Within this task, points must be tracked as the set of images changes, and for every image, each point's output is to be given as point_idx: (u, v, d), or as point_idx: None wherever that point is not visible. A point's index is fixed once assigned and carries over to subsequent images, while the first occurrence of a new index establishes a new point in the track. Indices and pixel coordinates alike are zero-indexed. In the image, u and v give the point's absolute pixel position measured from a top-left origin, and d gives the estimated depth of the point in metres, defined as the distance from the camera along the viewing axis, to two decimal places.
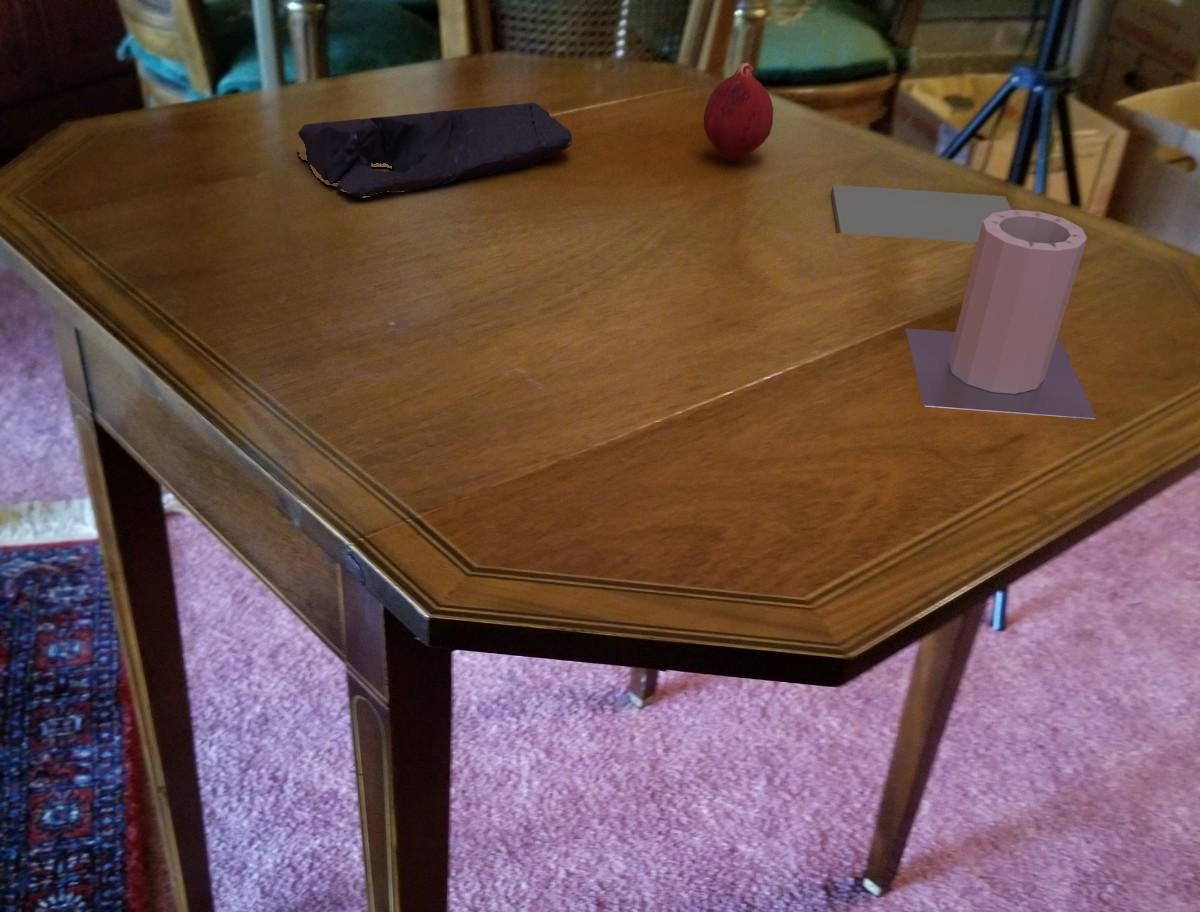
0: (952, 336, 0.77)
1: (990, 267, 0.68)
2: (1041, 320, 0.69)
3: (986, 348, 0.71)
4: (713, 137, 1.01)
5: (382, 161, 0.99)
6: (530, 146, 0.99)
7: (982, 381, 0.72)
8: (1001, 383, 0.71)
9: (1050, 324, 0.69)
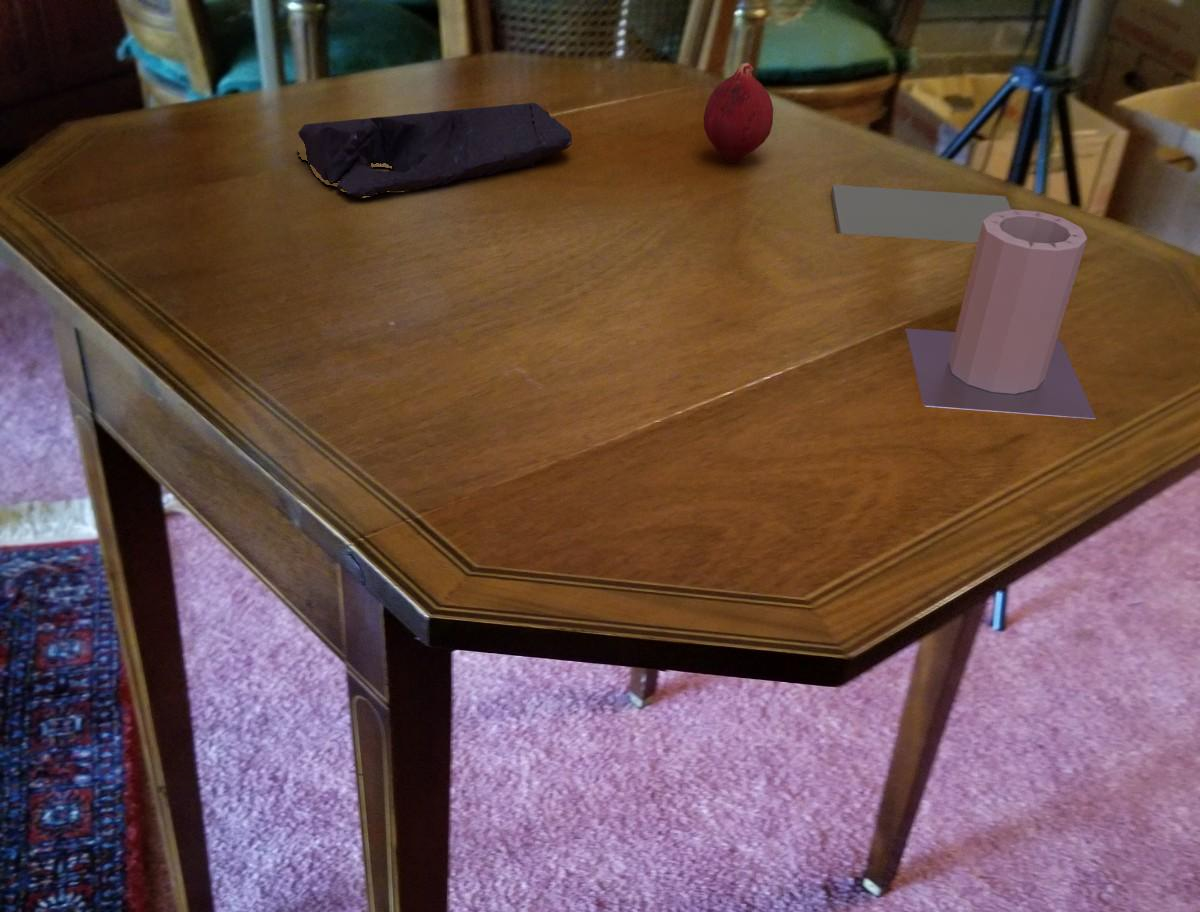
0: (952, 336, 0.77)
1: (990, 267, 0.68)
2: (1041, 320, 0.69)
3: (986, 348, 0.71)
4: (713, 137, 1.01)
5: (382, 161, 0.99)
6: (530, 146, 0.99)
7: (982, 381, 0.72)
8: (1001, 383, 0.71)
9: (1050, 324, 0.69)
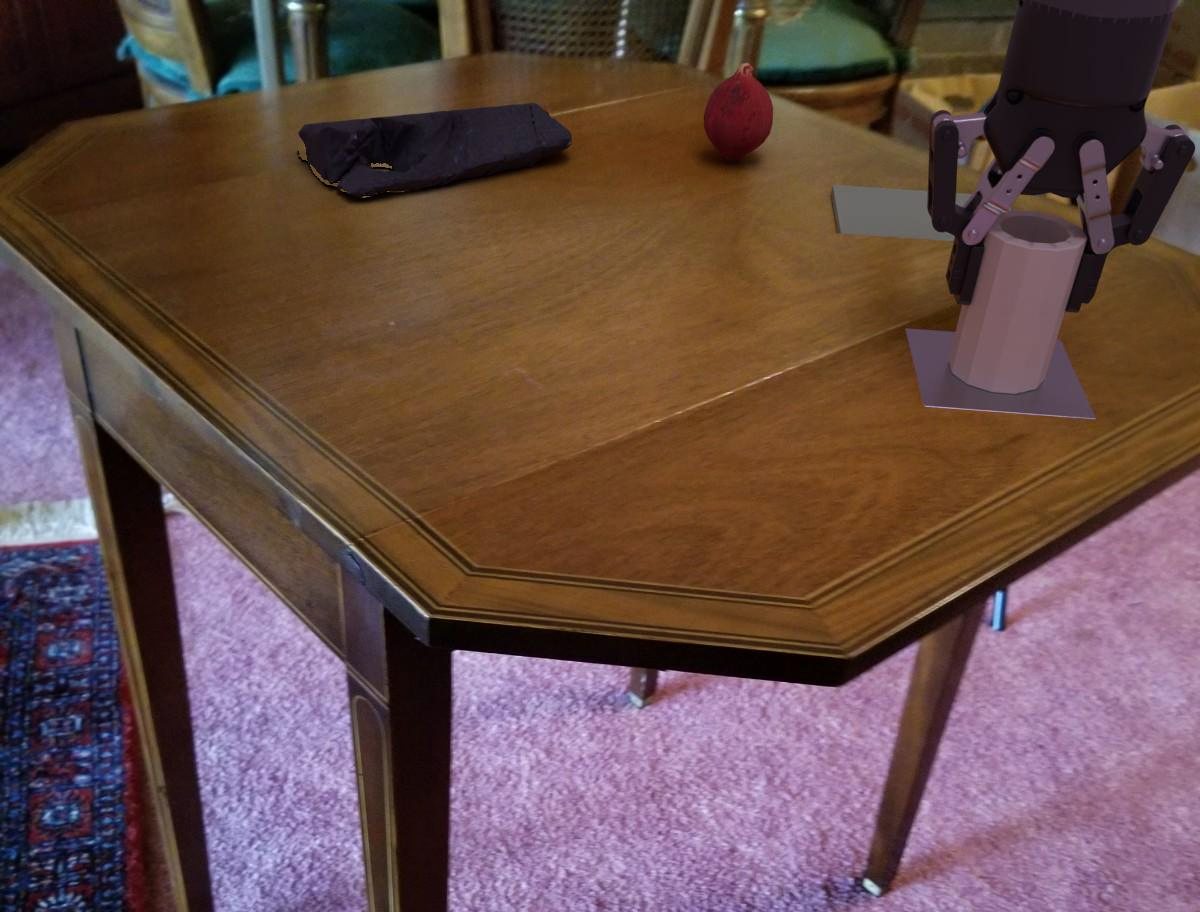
0: (952, 336, 0.77)
1: (990, 267, 0.68)
2: (1041, 320, 0.69)
3: (986, 348, 0.71)
4: (713, 137, 1.01)
5: (382, 161, 0.99)
6: (530, 147, 0.99)
7: (982, 381, 0.72)
8: (1001, 383, 0.71)
9: (1050, 324, 0.69)
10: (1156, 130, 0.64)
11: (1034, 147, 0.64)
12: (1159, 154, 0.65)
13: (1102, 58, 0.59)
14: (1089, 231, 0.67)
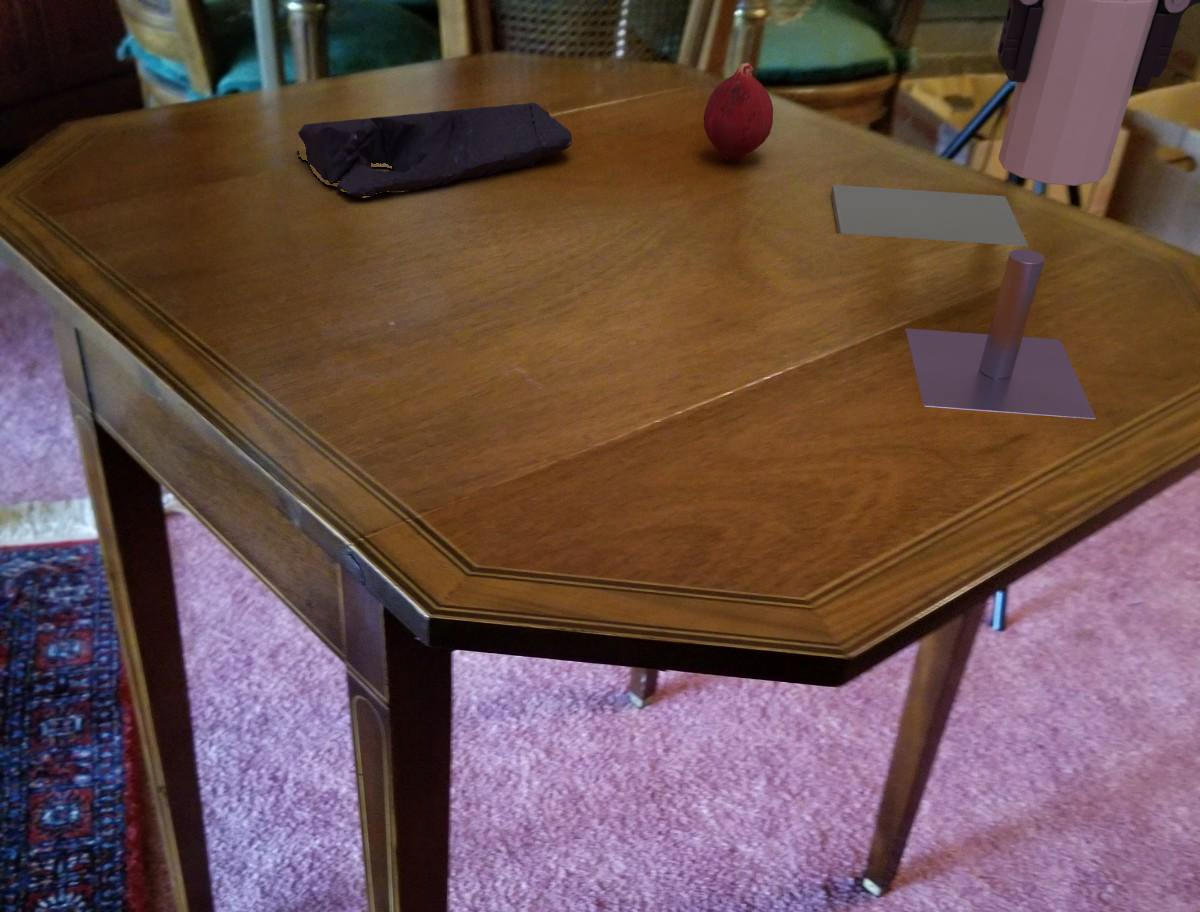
0: (952, 336, 0.77)
1: (1050, 31, 0.61)
2: (1107, 93, 0.61)
3: (1044, 130, 0.63)
4: (713, 137, 1.01)
5: (382, 161, 0.99)
6: (530, 147, 0.99)
7: (1039, 171, 0.64)
8: (1060, 172, 0.64)
9: (1117, 99, 0.62)
10: None
11: None
12: None
13: None
14: None
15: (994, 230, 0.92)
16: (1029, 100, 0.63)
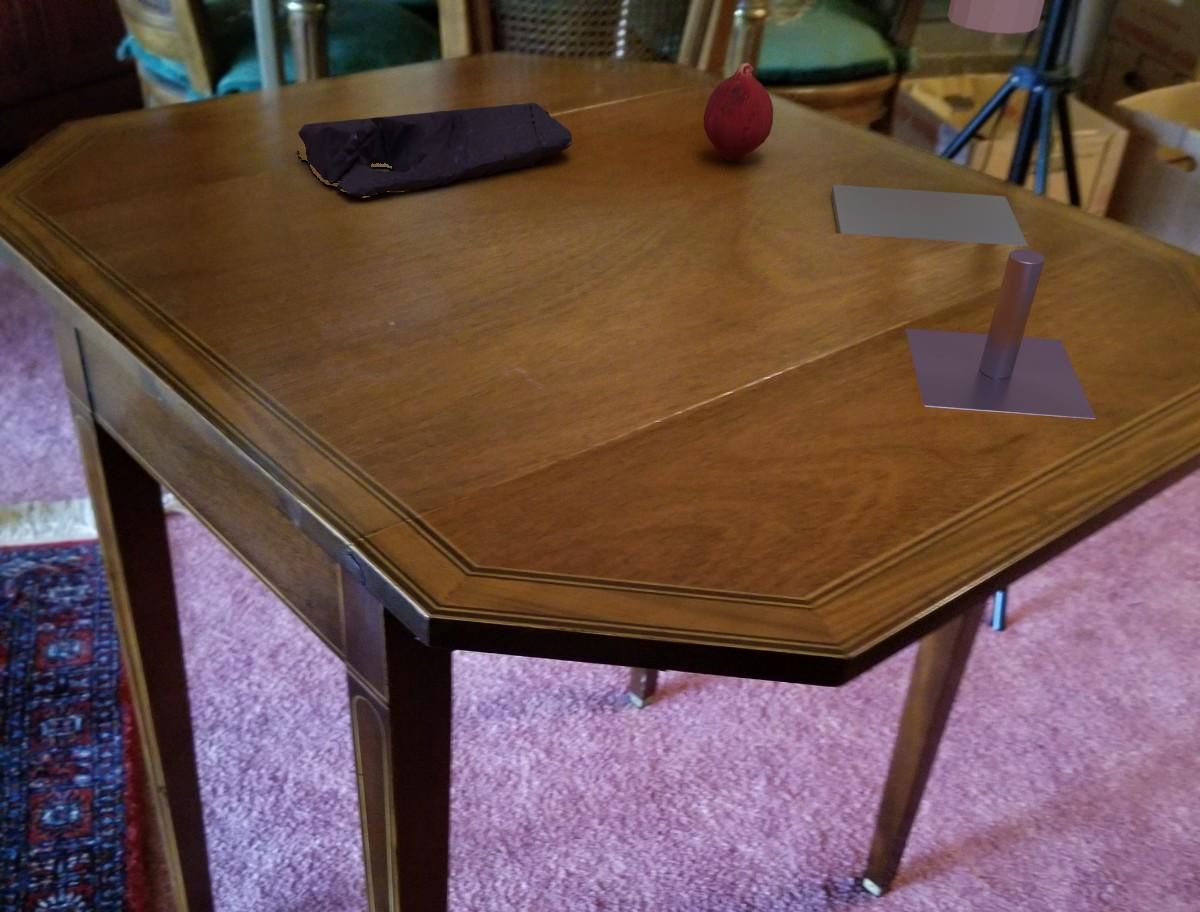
0: (952, 336, 0.77)
1: None
2: None
3: None
4: (713, 137, 1.01)
5: (382, 161, 0.99)
6: (530, 147, 0.99)
7: (980, 21, 0.77)
8: (997, 22, 0.76)
9: None
10: None
11: None
12: None
13: None
14: None
15: (994, 230, 0.92)
16: None
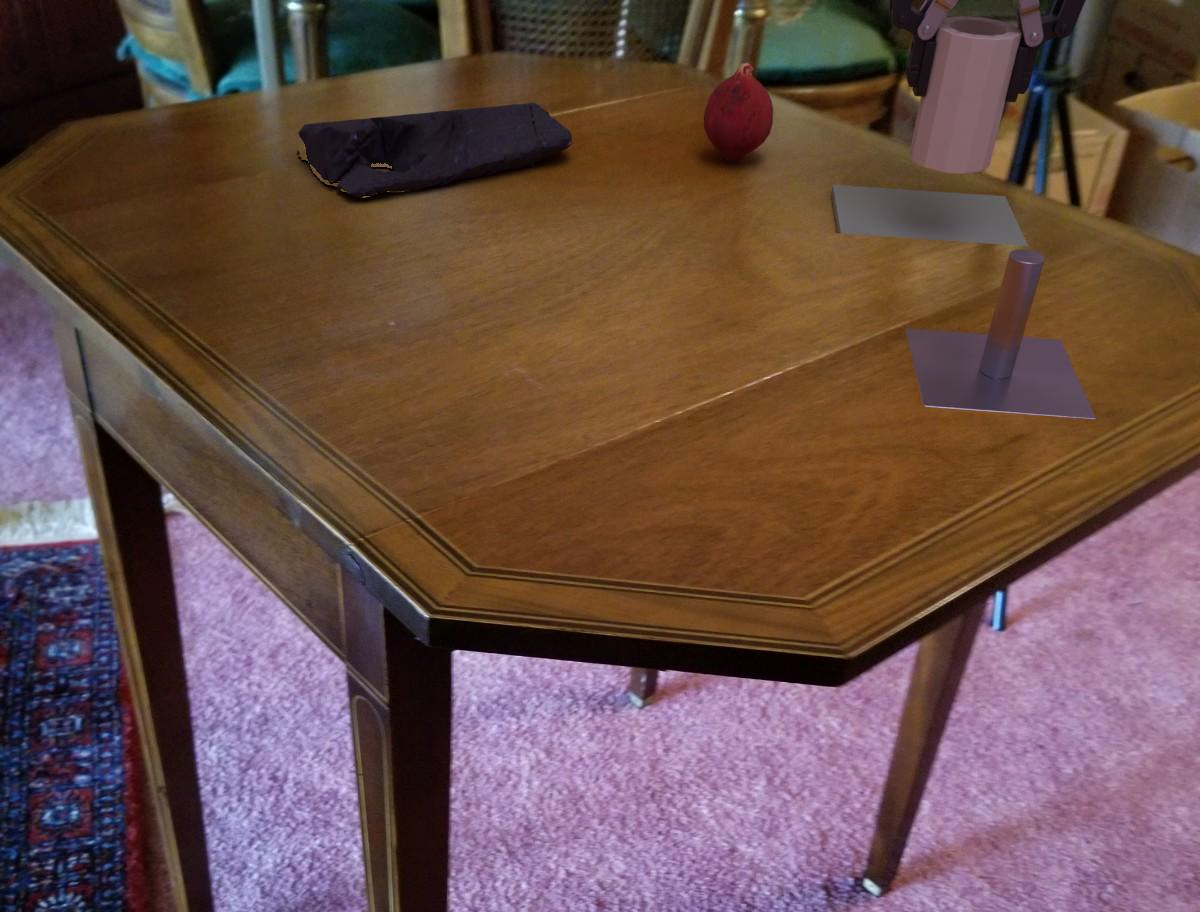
0: (952, 336, 0.77)
1: (941, 59, 0.82)
2: (984, 105, 0.83)
3: (939, 132, 0.84)
4: (713, 137, 1.01)
5: (382, 161, 0.99)
6: (530, 147, 0.99)
7: (937, 163, 0.86)
8: (952, 164, 0.85)
9: (992, 109, 0.83)
10: None
11: None
12: None
13: None
14: (1022, 26, 0.81)
15: (994, 230, 0.92)
16: (928, 109, 0.84)
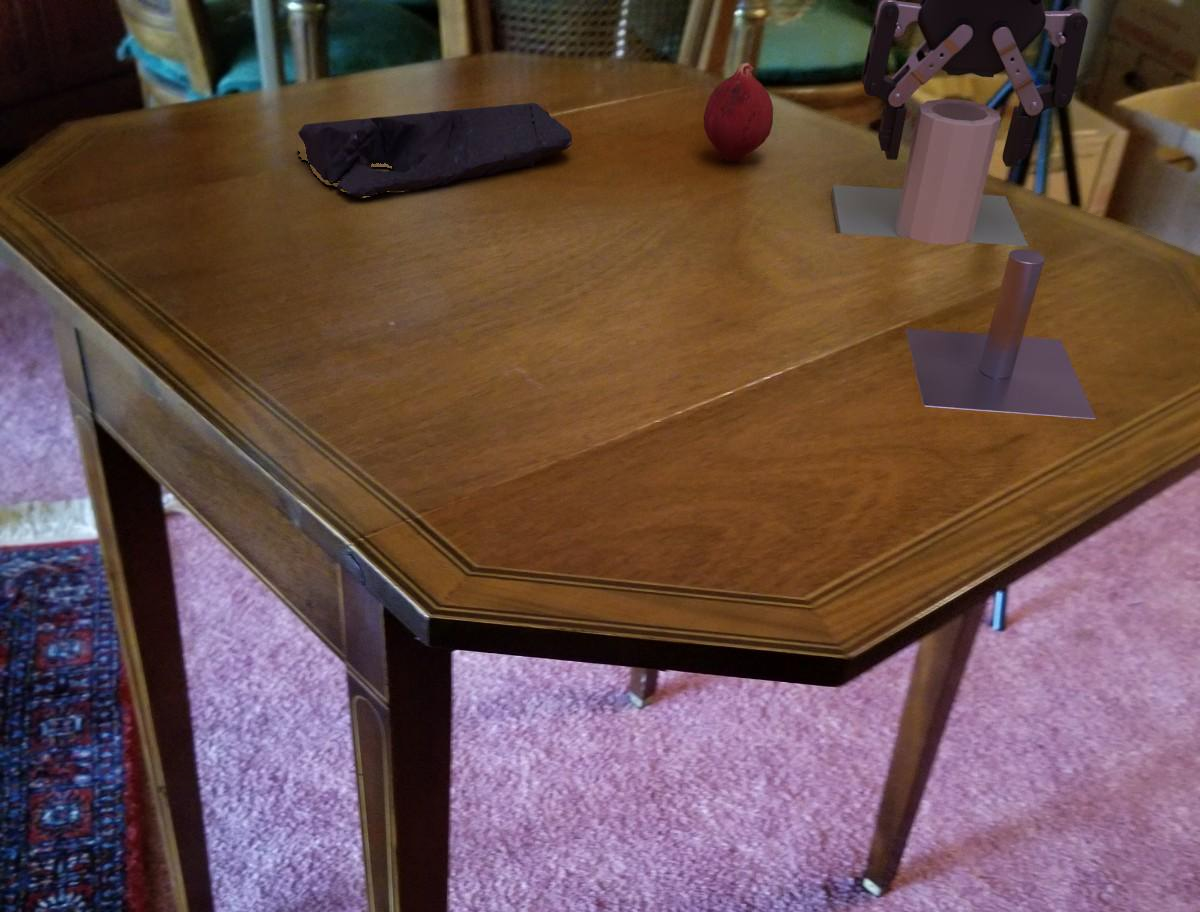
0: (952, 336, 0.77)
1: (924, 142, 0.86)
2: (965, 185, 0.86)
3: (922, 210, 0.88)
4: (713, 137, 1.01)
5: (382, 161, 0.99)
6: (530, 147, 0.99)
7: (920, 238, 0.89)
8: (935, 239, 0.89)
9: (973, 189, 0.87)
10: (1054, 14, 0.81)
11: (957, 33, 0.81)
12: (1061, 32, 0.81)
13: None
14: (1020, 99, 0.84)
15: (994, 230, 0.92)
16: (912, 188, 0.88)
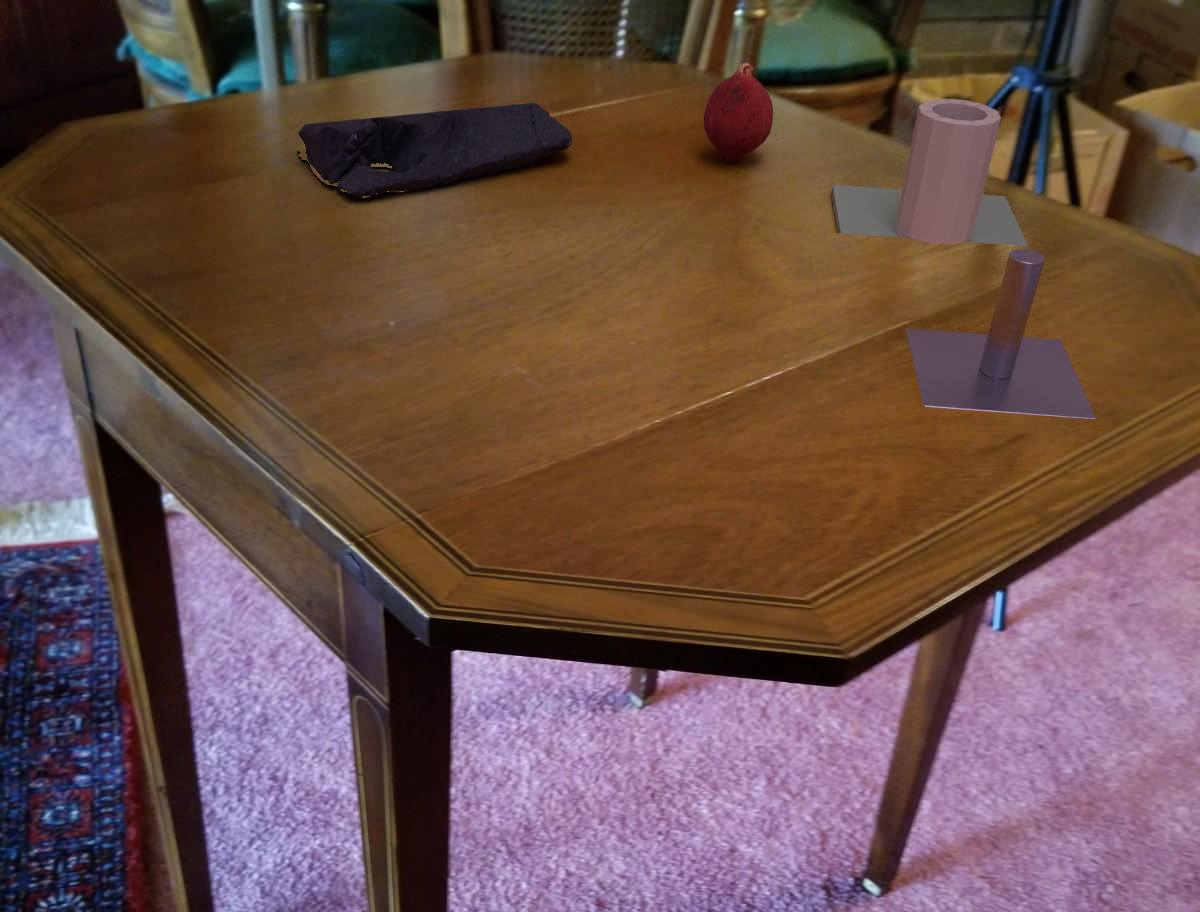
0: (952, 336, 0.77)
1: (924, 142, 0.86)
2: (965, 185, 0.86)
3: (922, 210, 0.88)
4: (713, 137, 1.01)
5: (382, 161, 0.99)
6: (530, 146, 0.99)
7: (920, 238, 0.89)
8: (935, 239, 0.89)
9: (973, 189, 0.87)
10: None
11: None
12: None
13: None
14: None
15: (994, 230, 0.92)
16: (912, 188, 0.88)
